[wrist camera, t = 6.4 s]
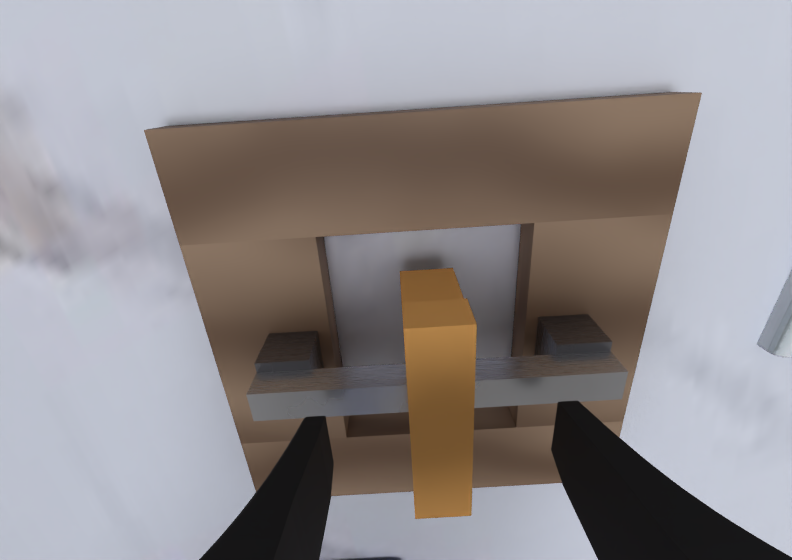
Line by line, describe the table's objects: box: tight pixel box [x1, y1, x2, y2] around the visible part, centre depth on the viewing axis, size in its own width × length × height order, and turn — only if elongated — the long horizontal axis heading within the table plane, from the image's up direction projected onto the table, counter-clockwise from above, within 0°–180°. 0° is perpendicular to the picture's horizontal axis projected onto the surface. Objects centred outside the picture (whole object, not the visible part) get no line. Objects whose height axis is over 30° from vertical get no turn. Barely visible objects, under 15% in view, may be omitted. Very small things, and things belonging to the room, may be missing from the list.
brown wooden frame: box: [144, 92, 702, 496], centre depth 18 cm, size 18×18×2 cm
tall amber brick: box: [400, 268, 477, 519], centre depth 15 cm, size 8×2×4 cm, turn 3°
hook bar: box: [246, 314, 628, 421], centre depth 15 cm, size 2×13×3 cm, turn 93°
